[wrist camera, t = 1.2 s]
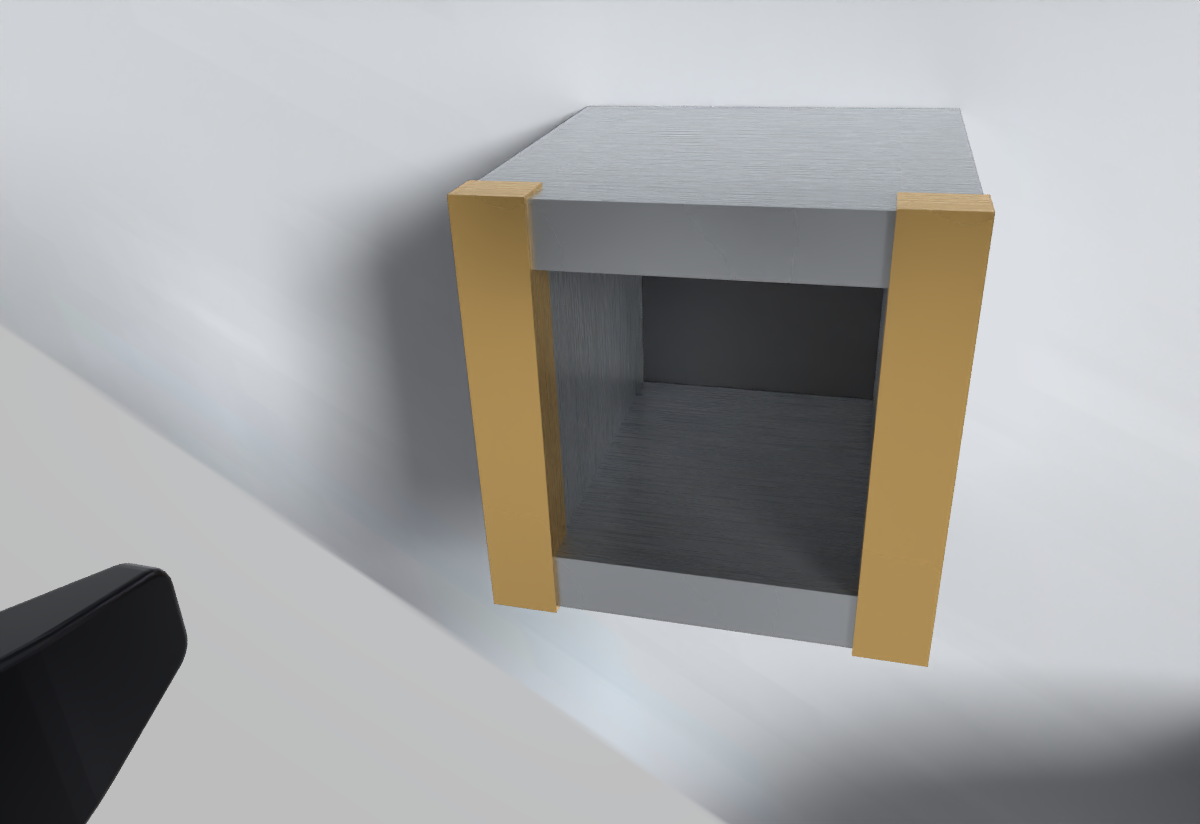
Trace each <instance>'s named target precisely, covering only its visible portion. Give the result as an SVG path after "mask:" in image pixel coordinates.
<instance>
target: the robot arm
mask: <svg viewBox="0 0 1200 824" xmlns="http://www.w3.org/2000/svg"><path fill="white" fill-rule="evenodd" d="M186 649H187V634H186V629H185V626H184V622H183V618H182V615H181V611H180V608H179V604H178V601H177V597H176V594H175V590H174V586H173V583H172V581H171V578H170V577H169V576H168V574H167V573H166V572H165V571H163V570H161V569H159V568H155V567H149V566H143V565H137V564H130V563H128V564H127V563H124V564H119V565H116V566H113V567H111V568H108V569H106V570H103V571H101V572H98V573H96V574H93V575H91V576H88V577H86V578H83V579H81V580H78V581H75V582H73V583H70V584H68V585H65V586H63V587H60V588H58V589H55V590H53V591H50V592H48V593H45V594H43V595H40V596H38V597H35V598H33V599H31V600H28V601H25V602H23V603H20V604H18V605H15V606H13V607H10V608H8V609H5V610H3V611H0V824H86V823H87V822H88V820H89V818H90V817H91V815H92V814H93V813H94V811H95V810H96V808H97V807H98V805H99V804H100V802H101V800H102V799H103V797H104V796H105V794H106V792H107V791H108V789H109V787H110V786H111V784H112V783H113V781H114V779H115V777H116V776H117V774H118V772H119V771H120V769H121V767H122V765H123V764H124V762H125V760H126V758H127V757H128V755H129V753H130V752H131V750H132V748H133V747H134V745H135V743H136V741H137V740H138V738H139V736H140V734H141V733H142V731H143V729H144V728H145V726H146V724H147V722H148V721H149V719H150V717H151V716H152V714H153V712H154V710H155V708H156V707H157V705H158V704H159V702H160V700H161V698H162V697H163V695H164V693H165V691H166V690H167V688H168V686H169V685H170V683H171V681H172V680H173V678H174V676H175V674H176V673H177V671H178V669H179V668H180V666H181V664H182V662H183V659H184V657H185V654H186Z"/></svg>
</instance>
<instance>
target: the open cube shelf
mask: <svg viewBox="0 0 1200 824" xmlns="http://www.w3.org/2000/svg"><path fill="white" fill-rule="evenodd" d="M447 199H448V208H449V217H450V225H451V234H452V243H453V252H454V260H455V269H456V278H457V286H458V295H459V304H460V312H461V321H462V330H463V338H464V347H465V356H466V364H467V373H468V382H469V390H470V399H471V408H472V416H473V425H474V434H475V442H476V451H477V460H478V468H479V477H480V486H481V494H482V503H483V512H484V520H485V529H486V538H487V546H488V555H489V564H490V572H491V581H492V590H493V598H494V604H500V605H507V606H514V607H521V608H527V609H534V610H541V611H548V612H555V613H557V611H558V609H559V607H560V606H562V607H569V608H576V609H583V610H590V611H597V612H604V613H611V614H618V615H625V616H632V617H639V618H646V619H653V620H660V621H667V622H674V623H681V624H688V625H695V626H702V627H709V628H715V629H722V630H729V631H736V632H743V633H750V634H757V635H764V636H771V637H778V638H785V639H792V640H799V641H806V642H813V643H820V644H827V645H834V646H841V647H848V648H852V656H857V657H864V658H871V659H878V660H885V661H891V662H898V663H905V664H912V665H919V666H926V667H928V661H929V654H930V648H931V641H932V634H933V627H934V621H935V614H936V607H937V600H938V594H939V587H940V580H941V573H942V567H943V560H944V553H945V546H946V540H947V533H948V526H949V519H950V513H951V506H952V499H953V492H954V486H955V479H956V472H957V465H958V459H959V452H960V445H961V439H962V432H963V425H964V418H965V412H966V405H967V398H968V391H969V385H970V378H971V371H972V364H973V358H974V351H975V344H976V337H977V331H978V324H979V317H980V310H981V304H982V297H983V290H984V283H985V277H986V270H987V263H988V256H989V250H990V243H991V236H992V230H993V223H994V216H995V210H994V207H993V203H992V200H991V196H990V195H984V194H983V191H982V187H981V184H980V180H979V176H978V173H977V169H976V165H975V162H974V158H973V154H972V151H971V147H970V143H969V140H968V136H967V132H966V129H965V125H964V121H963V118H962V114H961V110H960V109H922V108H773V107H624V106H588V107H586V108H585V109H583V110H582V111H580V112H579V113H577V114H576V115H574V116H573V117H571V118H570V119H568V120H567V121H565V122H564V123H562V124H561V125H559V126H558V127H556V128H555V129H554V130H552V131H551V132H549V133H548V134H546V135H545V136H543V137H542V138H540V139H539V140H537V141H536V142H534V143H533V144H531V145H530V146H528V147H527V148H525V149H524V150H522V151H521V152H519V153H518V154H517V155H515V156H514V157H512V158H511V159H509V160H508V161H506V162H505V163H503V164H502V165H500V166H499V167H497V168H496V169H494V170H493V171H491V172H490V173H488V174H487V175H485V176H484V177H483V178H481V179H480V180H468V181H467V182H465V183H464V184H462V185H461V186H459V187H458V188H456V189H455V190H453V191H452V192H450V193H448V194H447ZM642 276H661V277H681V278H700V279H719V280H738V281H758V282H777V283H796V284H815V285H835V286H854V287H873V288H884V291H883V301H882V312H881V322H880V332H879V342H878V352H877V363H876V373H875V383H874V393H873V400H869V399H856V398H844V397H831V396H819V395H806V394H794V393H782V392H769V391H757V390H744V389H732V388H719V387H707V386H694V385H682V384H669V383H657V382H645V381H644V361H643V318H642Z"/></svg>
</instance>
